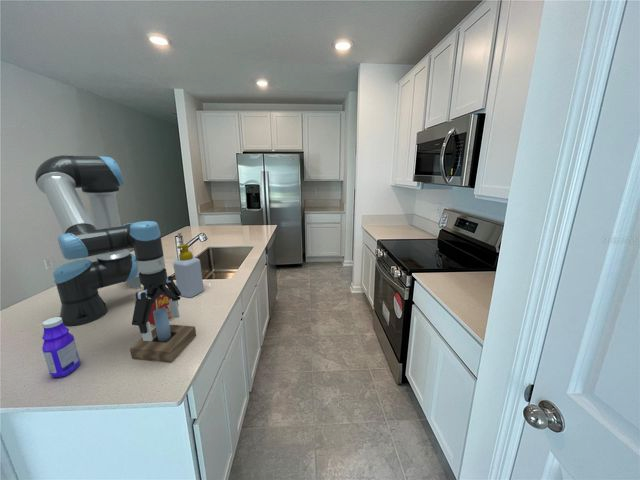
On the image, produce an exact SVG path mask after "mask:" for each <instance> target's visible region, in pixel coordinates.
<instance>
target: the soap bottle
mask: <svg viewBox="0 0 640 480" xmlns="http://www.w3.org/2000/svg"><path fill="white" fill-rule="evenodd" d="M177 249H181V252H180V253H179V257H178V258H179V259H177V260H175V261H174V262H173V263H172V264H173V269H174V276H175V277H174V278H175V285H176V286H177V288H178V289H179V291H180V292H181V296H180V297H186V298H193V297H195V296H197V295H199V294H201V293H202V292H204V291H205V289H204V283H203V282H204V281H203V273H202V272H203V271H202V266H201V259H199V258H197V257H193V253H192V251H189V246H188V243H183V244H180V245H178V246H177Z"/></svg>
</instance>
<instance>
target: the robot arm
mask: <svg viewBox="0 0 640 480" xmlns="http://www.w3.org/2000/svg"><path fill="white" fill-rule="evenodd" d="M34 180H35V183H36V186H37V187H38V190H39V191H40V192H42V193H44V194H45V196H46V198H47V200H48V203H49V205H50V207H51V208H52V211H53V213H54V216H55V217H56V220H57V222H58V224H59V226H60V229H61V230H62V232H63V234H60V235H58V237H57V241H58V245H59V249H60V253H61V254H62V257H63V258H64V259H66V260H73V261H69V262H67V263H64V264H62V265H60V266H58V267H56V268H55V269H54V271H53V279H54V284H56V286H55V287H56V289H57V293H58V297H59V299H60V300H59V301H60V303H61V306H60V307H61V308H60V312H59V313H60V315H59V317H61V318H62V321H63V323H64V325H65V326H66V327H72V326H73V327H77V326H81V325H84V324H85V325H86V324H88V323H92V322H94V321H96V320H98V319H101V318H102V317H104V316H105V315H106V314H107V313H108V311H109V308H108V304H106V302H105V301H104V299H103V298H102V297H101V296H100V293H99V289H102V288H105V287H106V288H107V287H111V286H113V285H114V286H115V285H118V284H121V283H127V282H126V281H128V280H131V279H134V278H135V277H136V275H137V271H138V272H140V273H139V278H140V283H141V284H142V285H143V286H144V290H143V291H142V292H141V291H136V292H135V303H134V309H133V314H132V321H131V325H132V326H134V327H135V326H137V327H138V328H139V332H140V334H141V337H142V338H143V341H152V340H153V338H152V333H151V331H152V327H151V326H150V322H147V320H148V317H149V314H150V312H151V309H152V306H153V303H154V302H155V301H156V299H157V298H158V297H159V296H161V295H163V294H164V295H165V296H166V297H168V298H169V299H171V300H170V301H169V305H170V311H171V317H175V318H177V319H179V318H180V317H181V315H180V310H179V301H180V300H181V297H182V296H181V292H180V291H179V289H178V288H177V284H176V282H174V280H173V276H172V275H171V276H170V275H168V273H167V268H166V263H165V257H164V254H165V253H164V248H163V244H162V243H163V242H162V237H161V236H162V235H161V233H162V232H161V230H160V226H159V224H158V222H156V221H153V220H151V221H150V220H145V221H142V220H141V221H137V222H129V223H125V224H123V225H122V223H121V218H120V213H119V207H118V202H117V196H116V195H117V194H118V193H119V192H120V188H119V187H122V186H123V185H124V177H123V173H122V171H121V168H120V166H119V165H118V163H117V161H116V160H115V159H114V158H112V157H109V156H104V155H103V156H101V155H67V154H66V155H63V154H62V155H55V156H53V157H50V158H48V159H46V160H44V161H43V162H42V163H41V164H40V165H39V166H38V168H37V169H36V171H35V175H34ZM77 188H78V189H80V188H81V192H82V193H83V194H85V195H86V196H88V200H89V206H90V210H91V214H92V215H91V216H92V218H91V216H90V214H89V213H88V211H87V208H86V207H85V205H84V203H83V201H82V199H81V198H80V196H79V194H78V192H77V190H76V189H77ZM92 219H93V220H92ZM129 249H133V252H134V253H131V251H130V250H129ZM93 256H96V260H95V261H91V260H90V259H87V258H89V257H93ZM85 258H86V259H85ZM148 297H149V298H152V299H148ZM175 318H174V319H175Z"/></svg>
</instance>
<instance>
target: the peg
mask: <svg viewBox="0 0 640 480" xmlns="http://www.w3.org/2000/svg"><path fill="white" fill-rule="evenodd" d="M153 316H154V321H155V326H156V331H157V337H158V342H164V343H167V342H168V341H169V340H170V339H171V338H172V337H171V331H170V325H171V324H170V321H169V320H168V314H167V309H166V308H159V309H156V310H155V311H153Z"/></svg>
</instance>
